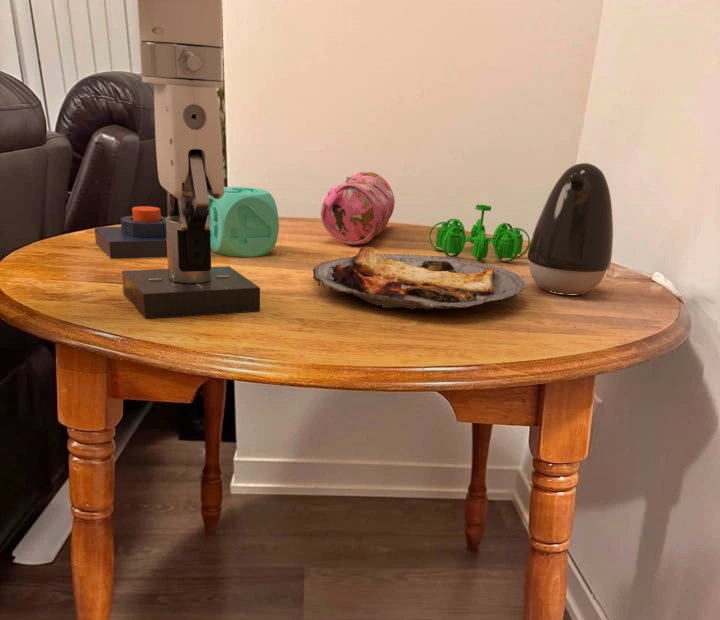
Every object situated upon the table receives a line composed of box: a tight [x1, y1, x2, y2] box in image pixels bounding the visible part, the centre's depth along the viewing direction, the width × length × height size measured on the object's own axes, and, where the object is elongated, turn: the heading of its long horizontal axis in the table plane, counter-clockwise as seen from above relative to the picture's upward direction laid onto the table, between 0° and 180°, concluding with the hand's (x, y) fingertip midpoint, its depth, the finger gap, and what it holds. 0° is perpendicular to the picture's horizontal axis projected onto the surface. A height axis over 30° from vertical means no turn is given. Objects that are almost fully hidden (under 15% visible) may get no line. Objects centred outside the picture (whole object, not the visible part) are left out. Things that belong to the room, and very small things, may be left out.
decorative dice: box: [208, 186, 280, 258], centre depth 106 cm, size 8×8×8 cm
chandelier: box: [428, 204, 531, 263], centre depth 116 cm, size 15×15×7 cm
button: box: [131, 205, 162, 222], centre depth 103 cm, size 4×4×2 cm
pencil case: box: [320, 171, 396, 246], centre depth 123 cm, size 21×9×9 cm, turn 172°
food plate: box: [312, 246, 529, 310], centre depth 92 cm, size 25×23×4 cm
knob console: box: [121, 266, 261, 320], centre depth 82 cm, size 12×10×3 cm
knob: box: [166, 216, 211, 283], centre depth 80 cm, size 4×4×6 cm
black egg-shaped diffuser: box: [526, 162, 614, 295], centre depth 96 cm, size 10×10×15 cm
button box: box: [94, 215, 168, 260], centre depth 104 cm, size 12×10×4 cm
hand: (189, 263), depth 81 cm, fingers closed on knob, 4 cm apart
